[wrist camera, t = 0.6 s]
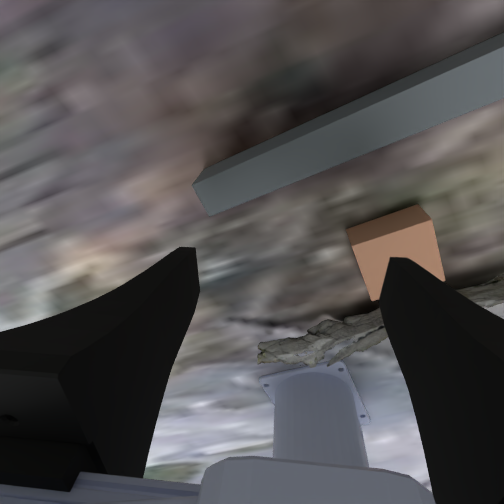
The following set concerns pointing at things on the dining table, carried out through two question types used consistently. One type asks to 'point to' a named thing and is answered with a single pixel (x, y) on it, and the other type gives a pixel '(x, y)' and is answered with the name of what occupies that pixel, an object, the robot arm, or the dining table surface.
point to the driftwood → (357, 331)
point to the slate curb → (358, 127)
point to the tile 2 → (395, 245)
